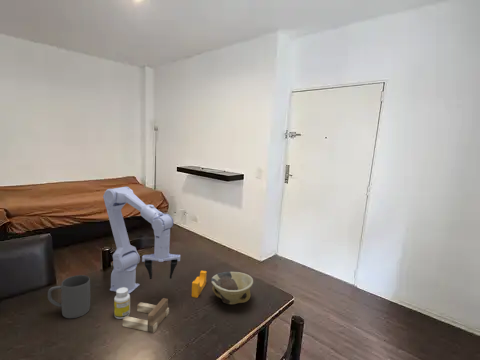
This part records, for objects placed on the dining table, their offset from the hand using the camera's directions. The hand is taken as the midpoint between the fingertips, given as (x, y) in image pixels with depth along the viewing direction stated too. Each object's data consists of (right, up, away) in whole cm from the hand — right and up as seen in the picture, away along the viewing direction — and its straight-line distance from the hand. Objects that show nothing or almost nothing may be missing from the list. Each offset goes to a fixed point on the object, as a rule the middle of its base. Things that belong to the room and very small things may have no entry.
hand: (160, 277), depth 110 cm
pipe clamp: (+13, -10, +12) cm, 20 cm away
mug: (-31, -10, -9) cm, 34 cm away
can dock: (-2, -12, -10) cm, 16 cm away
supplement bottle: (-12, -11, -9) cm, 18 cm away
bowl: (+28, -12, +6) cm, 31 cm away
